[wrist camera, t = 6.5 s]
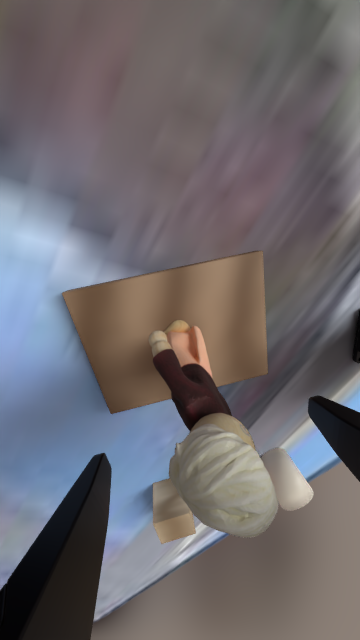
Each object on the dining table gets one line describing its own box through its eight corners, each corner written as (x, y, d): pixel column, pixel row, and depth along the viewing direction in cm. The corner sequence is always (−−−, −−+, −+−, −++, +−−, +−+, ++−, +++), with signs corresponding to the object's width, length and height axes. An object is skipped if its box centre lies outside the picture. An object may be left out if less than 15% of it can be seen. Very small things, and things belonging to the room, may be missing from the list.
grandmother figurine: (223, 350, 18) (359, 533, 6) (193, 377, 19) (267, 593, 7) (164, 293, 16) (205, 415, 4) (132, 325, 16) (78, 524, 4)
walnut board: (255, 251, 17) (262, 250, 16) (261, 367, 21) (267, 373, 20) (68, 290, 16) (61, 293, 15) (113, 405, 20) (110, 413, 19)
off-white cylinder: (287, 444, 26) (314, 482, 21) (287, 465, 27) (312, 504, 23) (258, 452, 25) (280, 492, 21) (260, 473, 27) (280, 514, 22)
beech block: (183, 473, 25) (189, 512, 21) (189, 493, 26) (195, 533, 22) (152, 482, 24) (153, 524, 21) (159, 501, 26) (161, 543, 22)
